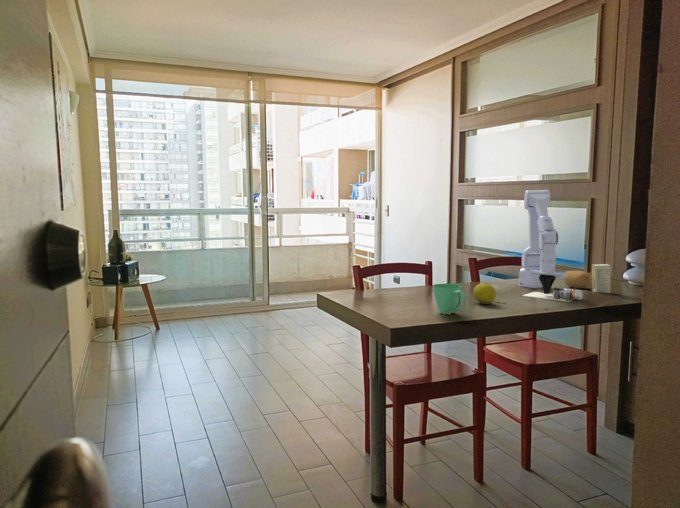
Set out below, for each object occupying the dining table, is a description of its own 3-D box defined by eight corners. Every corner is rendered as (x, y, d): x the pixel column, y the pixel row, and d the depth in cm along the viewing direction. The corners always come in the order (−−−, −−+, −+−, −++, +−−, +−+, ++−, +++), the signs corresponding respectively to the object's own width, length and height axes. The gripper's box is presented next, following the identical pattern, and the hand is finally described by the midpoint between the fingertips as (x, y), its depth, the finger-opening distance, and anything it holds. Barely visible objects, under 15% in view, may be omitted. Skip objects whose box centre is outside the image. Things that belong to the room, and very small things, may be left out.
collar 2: (565, 300, 194) (565, 292, 194) (574, 297, 200) (574, 290, 200) (569, 301, 193) (569, 293, 193) (578, 297, 199) (578, 290, 199)
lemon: (499, 306, 191) (500, 285, 190) (480, 306, 190) (480, 286, 189) (488, 300, 202) (488, 280, 201) (469, 301, 201) (469, 281, 200)
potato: (574, 285, 232) (574, 268, 231) (597, 290, 218) (597, 272, 217) (556, 286, 229) (556, 269, 228) (578, 291, 216) (578, 273, 215)
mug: (427, 311, 184) (427, 284, 183) (450, 309, 188) (450, 282, 187) (451, 320, 170) (451, 291, 169) (475, 317, 174) (475, 288, 173)
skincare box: (606, 292, 213) (607, 263, 212) (610, 294, 209) (611, 265, 208) (590, 292, 214) (591, 263, 213) (594, 294, 210) (595, 265, 208)
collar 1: (554, 299, 198) (554, 291, 197) (563, 296, 203) (563, 288, 203) (557, 299, 197) (557, 291, 196) (566, 296, 202) (566, 289, 202)
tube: (552, 297, 200) (552, 287, 200) (557, 296, 203) (557, 286, 203) (578, 300, 193) (578, 290, 193) (582, 299, 196) (582, 289, 195)
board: (521, 297, 206) (521, 295, 206) (534, 293, 214) (534, 291, 214) (568, 303, 192) (568, 301, 192) (580, 299, 200) (580, 297, 200)
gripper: (525, 260, 205) (525, 292, 207) (561, 263, 194) (560, 297, 196) (533, 258, 210) (533, 290, 211) (569, 261, 199) (568, 294, 201)
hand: (546, 293), depth 204 cm, fingers closed
